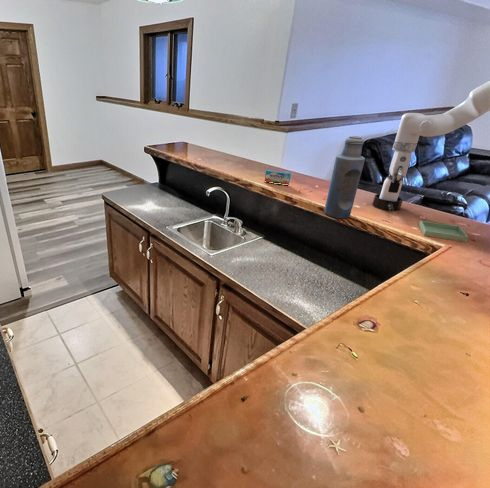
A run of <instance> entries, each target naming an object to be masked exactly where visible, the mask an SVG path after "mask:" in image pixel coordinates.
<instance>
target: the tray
mask: <svg viewBox="0 0 490 488" xmlns="http://www.w3.org/2000/svg"><path fill="white" fill-rule="evenodd" d="M418 228H419V230H420V232H421V234H422V235H423V236H424V237H429V238H437V239H442V240H450V241H457V242H462V243H467V242H468V240H469V235H468V234H467V233H466V232H465V230H464V229H463V228H462V226H460V225H455V224H447V223H439V222H434V221H433V222H432V221H427V220H419V222H418Z"/></svg>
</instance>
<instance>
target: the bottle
mask: <svg viewBox="0 0 490 488" xmlns="http://www.w3.org/2000/svg"><path fill="white" fill-rule="evenodd" d="M364 142H365V141H364V139H363V138H362V136H358V135H349V136H348V137H347V138H346V139H345V141H344V146H343V148H342V151H341V153H340V154H336V156H335V159H334V166H333V169H332V174H331V178H330V183H329V187H328V191H327V197H326V200H325V201H326V202H325V206H324V209H323V213H324V215H327V216H329V217H331V218H334V219H335V218H336V219H348V218H349V217H350V216H351V214H352V209H353V206H354V203H355V198H356V195H357V191H358V187H359V184H360V179H361V176H362V172H363V168H364V165H365V160H366V157H364V156H362V152H363V151H362V149H363V145H364Z"/></svg>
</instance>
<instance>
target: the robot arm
mask: <svg viewBox="0 0 490 488" xmlns="http://www.w3.org/2000/svg"><path fill="white" fill-rule="evenodd" d="M488 112H490V80H488V81H486V82H484V83H483V84H481V85H479V86H477V87H476V88H475V87H474V89H472V90H471V91H470V93H469V94H468V96H467V98H466V99H465V100H464V101H462V102H461V103H460V104H457V105H456V106H454V107H453V108H451V109H449V110H447V111H445V112H443V113H439V114H437V113H436V114H428V115H427V114H426V115H425V114H424V113H420V112H405V113H403V115H402V116H401V118H400V122H399V126H398V129H397V132H396V135H395V139H394V142H393V145H392V151H394V152H393V155H392V158H391V162H390V166H389V170H388V173H389V174H388V176H387V177H393V179H392V182H391V183H390V187H389V190H388V192H392V193H397V192H398V189H399V186H400V182H401V178H402V179H403V178H406V177H407V174H408V169H409V166H410V162H411V158H412V153H415V151H416V148H417V145H418V142H419V139H420V136H421V137H424V138H431V137H438V136H445V135H448V134H449V133H452V132H453V131H454V132H455V130H458V129H460V128H462V127H464V126H466V125H469V124H470V123H471V122H473V121H475V120H476V119H479V118H480V117H482V116H483V115H485V114H486V113H488ZM395 177H396V178H395ZM394 179H395V180H394Z"/></svg>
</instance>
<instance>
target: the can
mask: <svg viewBox="0 0 490 488" xmlns="http://www.w3.org/2000/svg"><path fill="white" fill-rule="evenodd" d="M395 178H396V177H395ZM392 179H393V177H390V176H389V177H388V176H386V178H385V179H384V181H383V184H382V187H381V190H380V193H379V194H380V197H379V198H380V199H383V200H388V201H397V199H398V197H400V193H401V191H402V190H401V189H402V187H403V177H401V182H400V186H399V189H398V192H397V193H392V192H388V190H389V187H390V183H391V182H392ZM394 180H395V179H394Z"/></svg>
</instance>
